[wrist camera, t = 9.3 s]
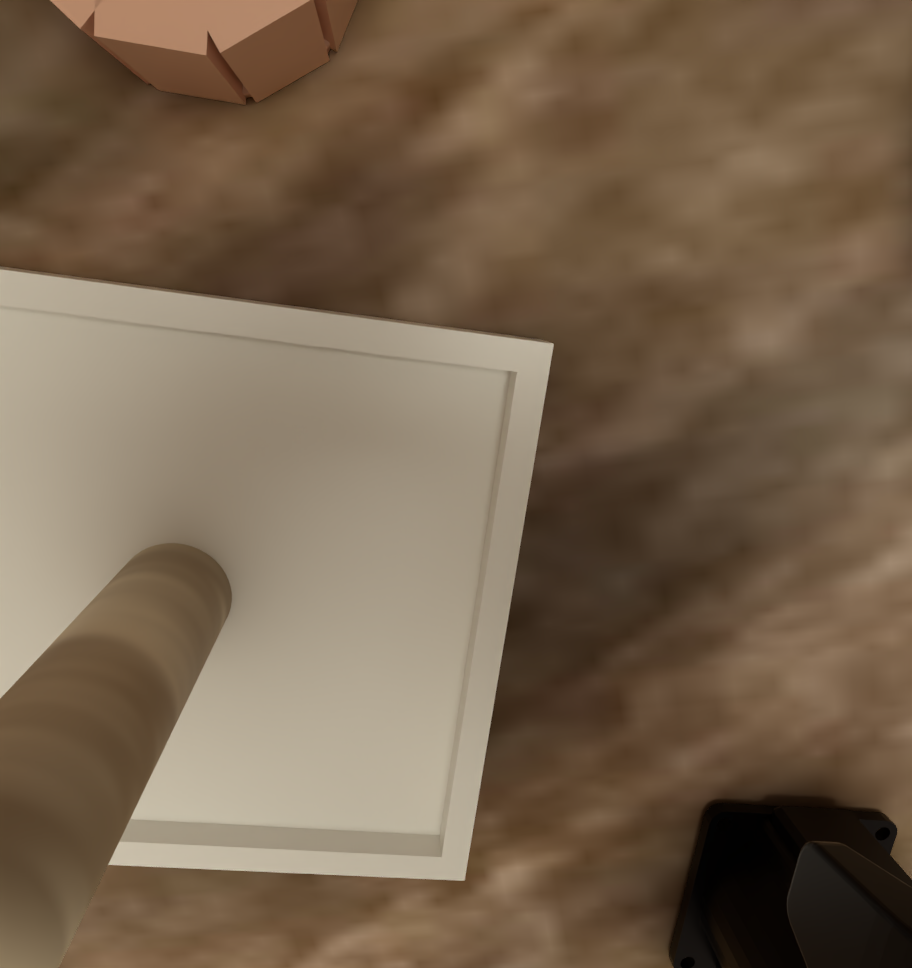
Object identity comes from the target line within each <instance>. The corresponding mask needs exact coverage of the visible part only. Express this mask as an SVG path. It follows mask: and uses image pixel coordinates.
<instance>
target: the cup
mask: <svg viewBox="0 0 912 968" xmlns="http://www.w3.org/2000/svg"><path fill="white" fill-rule="evenodd" d="M50 1H51V2H52V3H54V4H55V5H56V6H57V7H58V8H59V9H60V10H61V11H62V12H63V13H64V14H65V15H66V16H67V17H68V18H69V19H70V20H71V21H72V22H74V23H75V24H76V25H77V26H78V27H79V28H80V29H81V30H82V31H83V32H85V33H86V34H87V35H88V36H89V37H91V38H92V39H93V40H94V41H96V42H97V43H98V44H99V45H100V46H102V47H103V48H104V49H105V50H106V51H108V52H109V53H110V54H111V55H112V56H114V57H115V58H116V59H117V60H119V61H120V62H121V63H122V64H123V65H125V66H126V67H127V68H128V69H129V70H131V71H132V72H133V73H134V74H135V75H137V76H138V77H139V78H140V79H141V80H143V81H144V82H145V83H146V84H148V85H149V83H151V84H152V85H153V86H154V87H155V88H157V89H158V90H159V91H165V92H171V93H177V94H183V95H189V96H195V97H201V98H207V99H213V100H219V101H225V102H231V103H237V104H243V105H246V98H249V97H253V99H254V100H255V101H256V103H258V102H259V101H261V100H263V99H264V98H266V97H268V96H270V95H271V94H273V93H275V92H277V91H278V90H280V89H282V88H283V87H285V86H287V85H289V84H290V83H292V82H294V81H296V80H297V79H299V78H301V77H302V76H304V75H306V74H308V73H309V72H311V71H313V70H314V69H316V68H318V67H320V66H321V65H323V64H325V63H327V62H328V61H330V60H329V57H328V52H329V51H330V49H332V50H334V51H336V52H337V51H338V48H339V46H340V43H341V41H342V38H343V36H344V33H345V31H346V28H347V26H348V24H349V21H350V19H351V16H352V14H353V11H354V9H355V6H356V4H357V1H358V0H50Z"/></svg>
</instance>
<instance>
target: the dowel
mask: <svg viewBox="0 0 912 968" xmlns="http://www.w3.org/2000/svg"><path fill="white" fill-rule="evenodd" d="M231 603H232V592H231V586H230V583H229V580H228V578H227V576H226V574H225V572H224V570H223V569H222V568H221V566H220V565H219V564H218V563H217V562H216V561H215V560H214V559H213V558H212V557H211V556H209V555H208V554H206V553H205V552H203V551H201V550H199V549H197V548H194V547H192V546H188V545H184V544H178V543H166V544H159V545H154V546H152V547H149V548H146V549H144V550H142V551H141V552H139V553H138V554H136V555H135V556H134V557H133V558H132V559H131V560H130V561H129V562H128V563H127V564H126V565H125V566H124V567H123V568H122V569H121V570H120V571H119V572H118V573H117V574H116V576H115V577H114V578H113V579H112V580H111V581H110V582H109V583H108V584H107V585H106V586H105V587H104V588H103V589H102V590H101V592H100V593H99V594H98V595H97V596H96V597H95V598H94V599H93V600H92V601H91V602H90V603H89V604H88V605H87V607H86V608H85V609H84V610H83V611H82V612H81V613H80V614H79V615H78V616H77V617H76V618H75V619H74V620H73V621H72V623H71V624H70V625H69V626H68V627H67V628H66V629H65V630H64V631H63V632H62V633H61V634H60V635H59V636H58V637H57V639H56V640H55V641H54V642H53V643H52V644H51V645H50V646H49V647H48V648H47V649H46V650H45V651H44V652H43V654H42V655H41V656H40V657H39V658H38V659H37V660H36V661H35V662H34V663H33V664H32V665H31V666H30V667H29V668H28V670H27V671H26V672H25V673H24V674H23V675H22V676H21V677H20V678H19V679H18V680H17V681H16V682H15V683H14V684H13V686H12V687H11V688H10V689H9V690H8V691H7V692H6V693H5V694H4V695H3V696H2V697H1V698H0V968H59V966H60V964H61V962H62V959H63V957H64V955H65V953H66V951H67V949H68V947H69V945H70V943H71V941H72V939H73V937H74V935H75V932H76V930H77V928H78V926H79V924H80V922H81V920H82V918H83V916H84V914H85V912H86V910H87V908H88V905H89V903H90V901H91V899H92V897H93V895H94V893H95V891H96V889H97V887H98V885H99V883H100V881H101V878H102V876H103V874H104V872H105V870H106V868H107V866H108V864H109V862H110V860H111V858H112V856H113V854H114V851H115V849H116V847H117V845H118V843H119V841H120V839H121V837H122V835H123V833H124V831H125V829H126V827H127V824H128V822H129V820H130V818H131V816H132V814H133V812H134V810H135V808H136V806H137V804H138V802H139V800H140V798H141V795H142V793H143V791H144V789H145V787H146V785H147V783H148V781H149V779H150V777H151V775H152V773H153V771H154V768H155V766H156V764H157V762H158V760H159V758H160V756H161V754H162V752H163V750H164V748H165V746H166V744H167V741H168V739H169V737H170V735H171V733H172V731H173V729H174V727H175V725H176V723H177V721H178V719H179V717H180V714H181V712H182V710H183V708H184V706H185V704H186V702H187V700H188V698H189V696H190V694H191V692H192V690H193V687H194V685H195V683H196V681H197V679H198V677H199V675H200V673H201V671H202V669H203V667H204V665H205V663H206V660H207V658H208V656H209V654H210V652H211V650H212V648H213V646H214V644H215V642H216V640H217V638H218V636H219V633H220V631H221V629H222V627H223V625H224V623H225V621H226V619H227V617H228V615H229V612H230V608H231Z"/></svg>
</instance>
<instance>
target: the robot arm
mask: <svg viewBox="0 0 912 968" xmlns="http://www.w3.org/2000/svg"><path fill="white" fill-rule="evenodd" d="M723 818H725V820H724V821H722V822H721V823H718V821H719V820H721V819H723ZM878 829H879V830H878ZM877 830H878V831H877ZM896 835H897V828H896V825H895V824H894V823H893V822H892V821H891V820H890V819H889V818H888V817H887V816H886V815H885V814H883V813H878V812H862V811H850V810H839V809H823V808H806V807H789V806H781V807H778V806H762V805H745V804H728V803H719V804H715V805H713V806H711V807H710V808H709V809H708V810H707V811H706V813H705V815H704V818H703V822H702V826H701V830H700V834H699V838H698V842H697V846H696V850H695V854H694V857H693V861H692V865H691V869H690V873H689V877H688V881H687V885H686V889H685V893H684V897H683V900H682V904H681V908H680V912H679V916H678V920H677V924H676V928H675V932H674V936H673V939H672V943H671V947H670V951H669V958H670V960H671V962H672V965H673V967H674V968H912V880H911V879H910V877H909V876H908V875H907V874H906V873H905V872H904V871H903V869H902V868H901V867H900V866H899V865H898V864H897V863H896V861H895V860H894V859H893V858H892V857H891V856H890V853H891V850H892V847H893V844H894V841H895V838H896Z"/></svg>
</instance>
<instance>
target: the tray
mask: <svg viewBox="0 0 912 968" xmlns="http://www.w3.org/2000/svg"><path fill="white" fill-rule="evenodd" d="M553 346H554V344H553V343H550V342H548V341H545V340H542V339H535V338H528V337H521V336H513V335H506V334H498V333H491V332H484V331H476V330H469V329H461V328H454V327H446V326H439V325H432V324H424V323H417V322H409V321H402V320H395V319H387V318H380V317H372V316H365V315H358V314H350V313H343V312H335V311H328V310H320V309H313V308H306V307H298V306H291V305H283V304H276V303H269V302H261V301H254V300H246V299H239V298H231V297H224V296H217V295H209V294H202V293H194V292H187V291H180V290H172V289H165V288H157V287H150V286H143V285H135V284H128V283H120V282H113V281H105V280H98V279H91V278H83V277H76V276H68V275H61V274H54V273H46V272H39V271H31V270H24V269H17V268H9V267H2V266H0V698H1V697H2V696H3V695H4V694H5V693H6V692H7V691H8V690H9V689H10V688H11V687H12V686H13V684H14V683H15V682H16V681H17V680H18V679H19V678H20V677H21V676H22V675H23V674H24V673H25V672H26V671H27V670H28V668H29V667H30V666H31V665H32V664H33V663H34V662H35V661H36V660H37V659H38V658H39V657H40V656H41V655H42V654H43V652H44V651H45V650H46V649H47V648H48V647H49V646H50V645H51V644H52V643H53V642H54V641H55V640H56V639H57V637H58V636H59V635H60V634H61V633H62V632H63V631H64V630H65V629H66V628H67V627H68V626H69V625H70V624H71V623H72V621H73V620H74V619H75V618H76V617H77V616H78V615H79V614H80V613H81V612H82V611H83V610H84V609H85V608H86V607H87V605H88V604H89V603H90V602H91V601H92V600H93V599H94V598H95V597H96V596H97V595H98V594H99V593H100V592H101V590H102V589H103V588H104V587H105V586H106V585H107V584H108V583H109V582H110V581H111V580H112V579H113V578H114V577H115V576H116V574H117V573H118V572H119V571H120V570H121V569H122V568H123V567H124V566H125V565H126V564H127V563H128V562H129V561H130V560H131V559H132V558H133V557H134V556H135V555H136V554H138V553H139V552H141V551H142V550H144V549H146V548H149V547H152V546H154V545H159V544H166V543H178V544H184V545H188V546H192V547H194V548H197V549H199V550H201V551H203V552H205V553H206V554H208V555H209V556H211V557H212V558H213V559H214V560H215V561H216V562H217V563H218V564H219V565H220V566H221V568H222V569H223V570H224V572H225V574H226V576H227V578H228V580H229V583H230V586H231V592H232V603H231V608H230V612H229V615H228V617H227V619H226V621H225V623H224V625H223V627H222V629H221V631H220V633H219V636H218V638H217V640H216V642H215V644H214V646H213V648H212V650H211V652H210V654H209V656H208V658H207V660H206V663H205V665H204V667H203V669H202V671H201V673H200V675H199V677H198V679H197V681H196V683H195V685H194V687H193V690H192V692H191V694H190V696H189V698H188V700H187V702H186V704H185V706H184V708H183V710H182V712H181V714H180V717H179V719H178V721H177V723H176V725H175V727H174V729H173V731H172V733H171V735H170V737H169V739H168V741H167V744H166V746H165V748H164V750H163V752H162V754H161V756H160V758H159V760H158V762H157V764H156V766H155V768H154V771H153V773H152V775H151V777H150V779H149V781H148V783H147V785H146V787H145V789H144V791H143V793H142V795H141V798H140V800H139V802H138V804H137V806H136V808H135V810H134V812H133V814H132V816H131V818H130V820H129V822H128V824H127V827H126V829H125V831H124V833H123V835H122V837H121V839H120V841H119V843H118V845H117V847H116V849H115V851H114V854H113V856H112V858H111V860H110V862H109V864H108V865H125V866H147V867H170V868H192V869H214V870H237V871H259V872H281V873H303V874H326V875H348V876H370V877H392V878H415V879H437V880H459V881H465V875H466V869H467V863H468V857H469V851H470V845H471V839H472V833H473V827H474V821H475V815H476V809H477V803H478V797H479V790H480V784H481V778H482V772H483V766H484V760H485V754H486V748H487V742H488V736H489V730H490V724H491V718H492V712H493V706H494V700H495V694H496V688H497V682H498V676H499V670H500V664H501V658H502V652H503V646H504V640H505V634H506V628H507V622H508V616H509V610H510V604H511V598H512V592H513V586H514V580H515V574H516V568H517V562H518V556H519V550H520V544H521V538H522V532H523V526H524V520H525V514H526V508H527V502H528V496H529V490H530V484H531V478H532V472H533V466H534V460H535V454H536V448H537V442H538V436H539V430H540V424H541V418H542V412H543V406H544V400H545V394H546V388H547V382H548V376H549V370H550V364H551V358H552V352H553Z"/></svg>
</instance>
